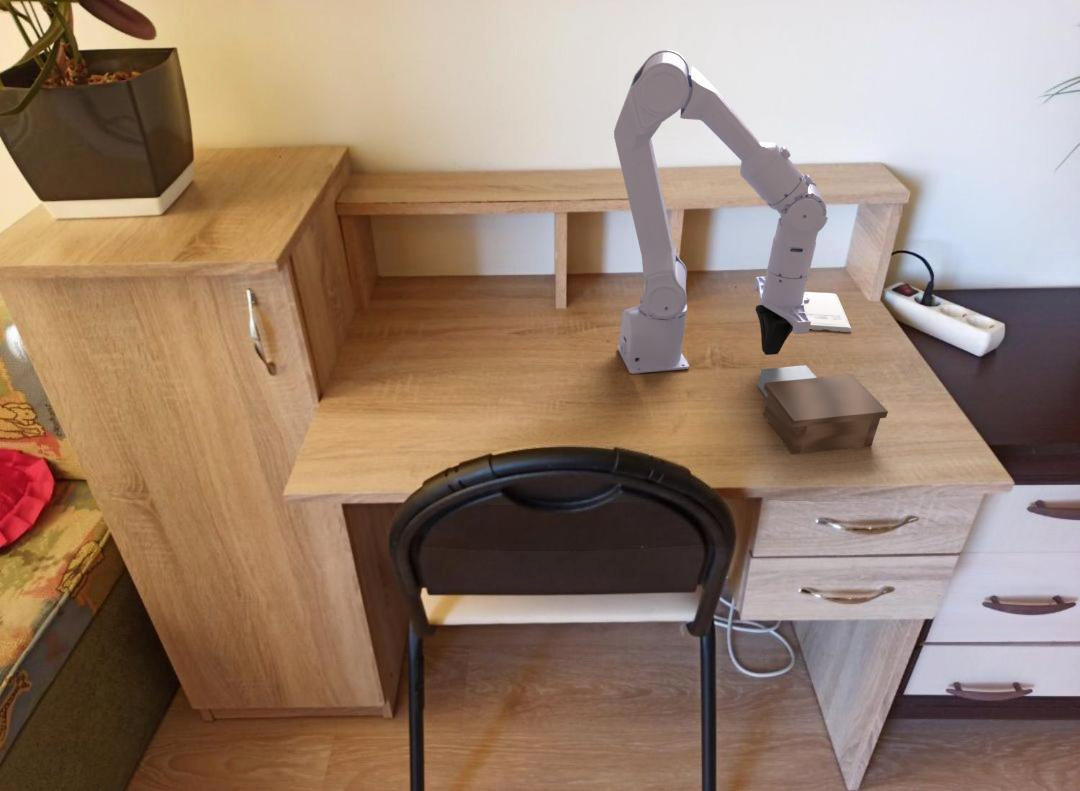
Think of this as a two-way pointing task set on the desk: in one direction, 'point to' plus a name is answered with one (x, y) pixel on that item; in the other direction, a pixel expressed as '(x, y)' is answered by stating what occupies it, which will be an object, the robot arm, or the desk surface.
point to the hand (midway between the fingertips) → (770, 352)
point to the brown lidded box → (822, 413)
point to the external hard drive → (826, 312)
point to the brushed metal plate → (783, 375)
